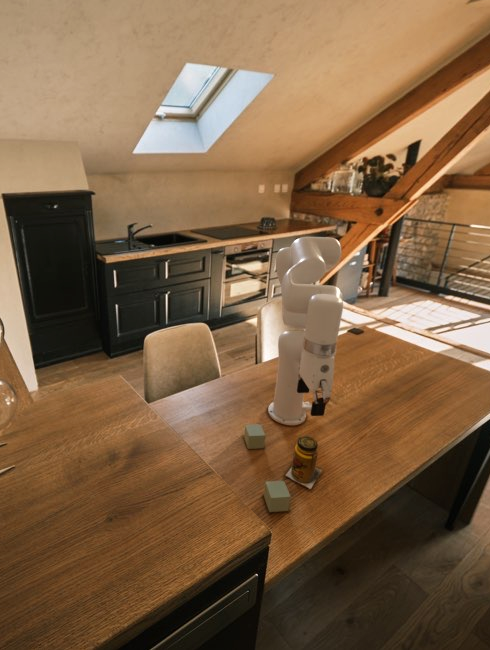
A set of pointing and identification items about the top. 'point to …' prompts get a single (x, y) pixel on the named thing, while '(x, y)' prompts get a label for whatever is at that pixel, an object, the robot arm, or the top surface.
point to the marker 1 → (254, 436)
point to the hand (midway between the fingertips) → (309, 403)
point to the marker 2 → (276, 496)
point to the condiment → (305, 462)
